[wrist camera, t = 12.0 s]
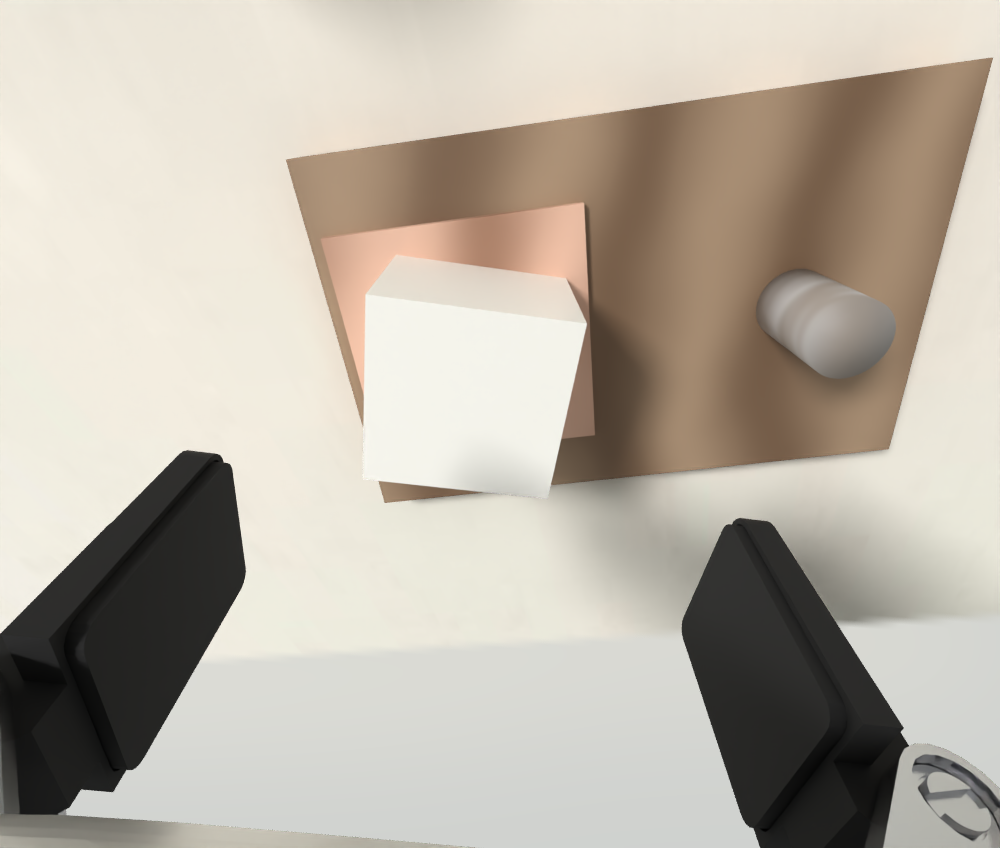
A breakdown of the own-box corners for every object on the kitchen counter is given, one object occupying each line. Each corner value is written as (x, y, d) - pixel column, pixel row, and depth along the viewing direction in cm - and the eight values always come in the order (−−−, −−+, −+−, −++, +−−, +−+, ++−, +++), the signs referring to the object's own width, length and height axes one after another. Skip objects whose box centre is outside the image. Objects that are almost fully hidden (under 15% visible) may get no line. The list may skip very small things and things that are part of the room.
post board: (955, 62, 18) (1121, 40, 13) (867, 431, 24) (955, 503, 20) (300, 157, 19) (236, 168, 14) (390, 483, 25) (367, 562, 21)
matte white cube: (565, 278, 19) (587, 323, 15) (537, 424, 22) (547, 499, 18) (396, 254, 19) (365, 294, 14) (389, 407, 21) (362, 479, 17)
